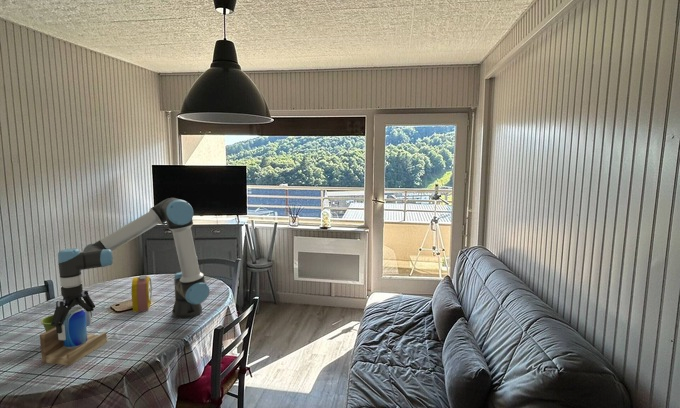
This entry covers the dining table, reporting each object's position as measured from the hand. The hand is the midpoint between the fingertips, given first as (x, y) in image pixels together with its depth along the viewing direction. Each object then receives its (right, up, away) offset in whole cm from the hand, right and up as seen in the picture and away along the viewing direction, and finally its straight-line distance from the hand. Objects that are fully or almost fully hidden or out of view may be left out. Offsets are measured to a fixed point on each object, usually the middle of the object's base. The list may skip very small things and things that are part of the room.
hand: (75, 332), depth 165 cm
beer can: (0, -6, +1) cm, 6 cm away
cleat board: (0, -9, +1) cm, 9 cm away
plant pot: (-15, -8, +10) cm, 19 cm away
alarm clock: (+3, -3, +51) cm, 51 cm away
